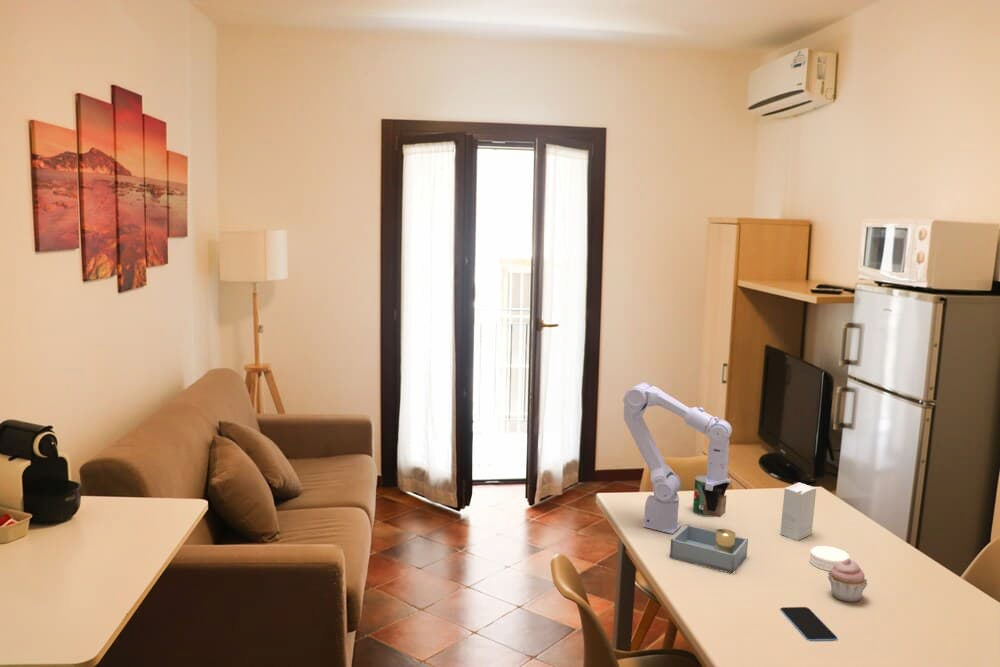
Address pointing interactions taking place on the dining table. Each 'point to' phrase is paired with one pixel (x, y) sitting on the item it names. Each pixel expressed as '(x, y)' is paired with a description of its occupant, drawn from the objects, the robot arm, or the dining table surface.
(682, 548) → the tote
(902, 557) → the dining table surface
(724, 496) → the walnut cube
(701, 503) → the canned tomato
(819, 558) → the white round disc
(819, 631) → the smartphone
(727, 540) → the brass cylinder
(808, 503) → the skincare box
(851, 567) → the cupcake
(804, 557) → the dining table surface
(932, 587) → the dining table surface
